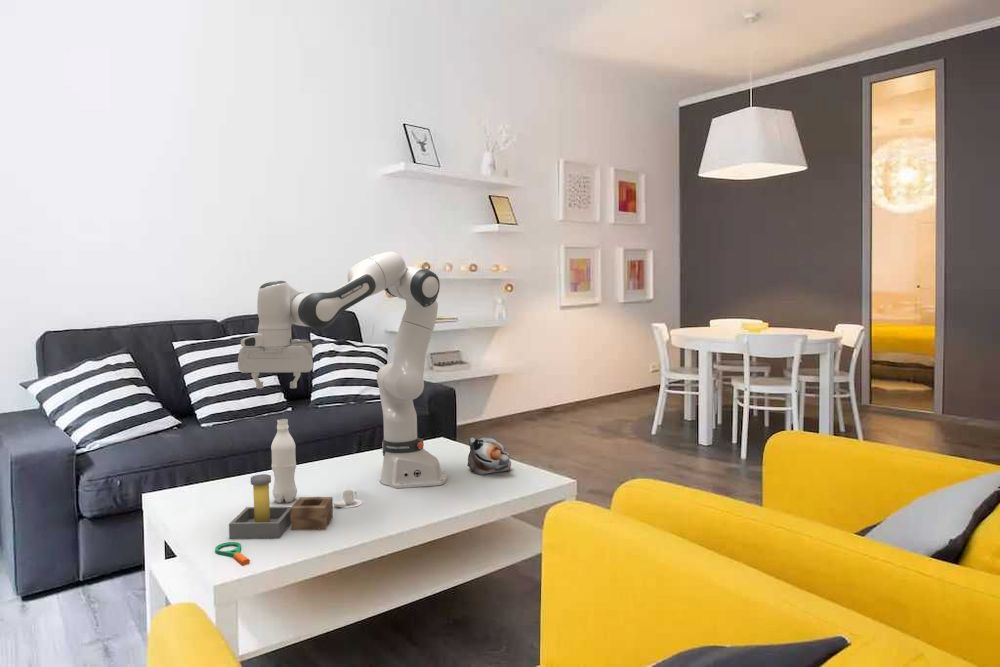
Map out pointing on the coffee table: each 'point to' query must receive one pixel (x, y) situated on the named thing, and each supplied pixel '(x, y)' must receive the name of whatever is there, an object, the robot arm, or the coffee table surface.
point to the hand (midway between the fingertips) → (276, 388)
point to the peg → (261, 497)
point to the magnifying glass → (233, 552)
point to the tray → (260, 524)
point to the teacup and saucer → (347, 499)
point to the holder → (311, 513)
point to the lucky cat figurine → (487, 456)
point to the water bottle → (283, 463)
